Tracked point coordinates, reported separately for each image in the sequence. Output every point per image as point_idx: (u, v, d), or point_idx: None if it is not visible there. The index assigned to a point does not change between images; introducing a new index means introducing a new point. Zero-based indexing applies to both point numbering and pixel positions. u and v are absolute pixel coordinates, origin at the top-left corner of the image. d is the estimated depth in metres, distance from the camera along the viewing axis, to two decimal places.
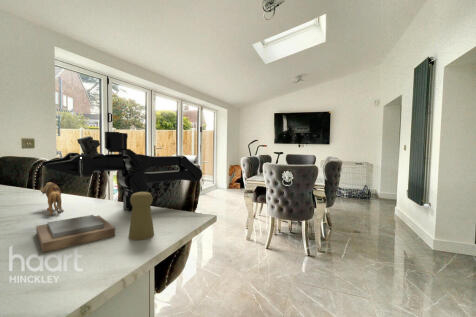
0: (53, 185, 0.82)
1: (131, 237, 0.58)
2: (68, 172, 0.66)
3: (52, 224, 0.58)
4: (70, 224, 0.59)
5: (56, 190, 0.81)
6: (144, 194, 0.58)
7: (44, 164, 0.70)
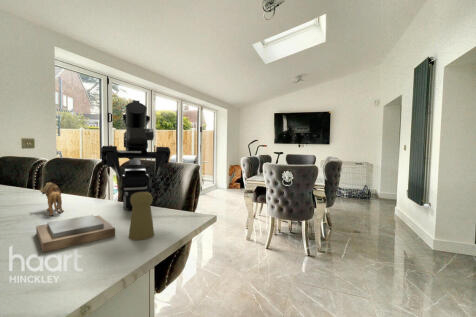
0: (53, 185, 0.82)
1: (131, 237, 0.58)
2: (159, 168, 0.73)
3: (52, 224, 0.58)
4: (70, 224, 0.59)
5: (56, 190, 0.81)
6: (144, 194, 0.58)
7: None
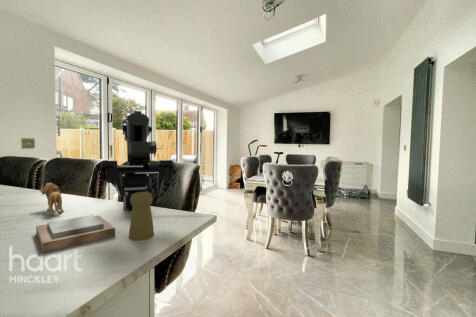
0: (53, 185, 0.81)
1: (131, 237, 0.58)
2: (162, 183, 0.69)
3: (52, 224, 0.58)
4: (70, 224, 0.59)
5: (56, 190, 0.81)
6: (144, 194, 0.58)
7: (121, 194, 0.61)
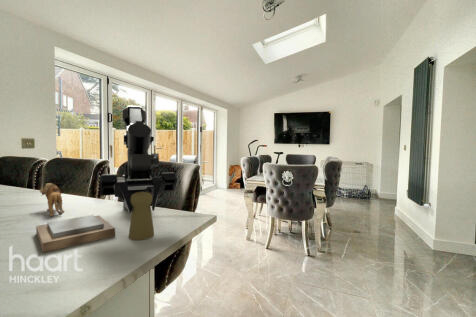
0: (53, 186, 0.81)
1: (131, 237, 0.58)
2: (157, 198, 0.64)
3: (52, 224, 0.58)
4: (70, 224, 0.59)
5: (56, 191, 0.80)
6: (144, 194, 0.58)
7: None
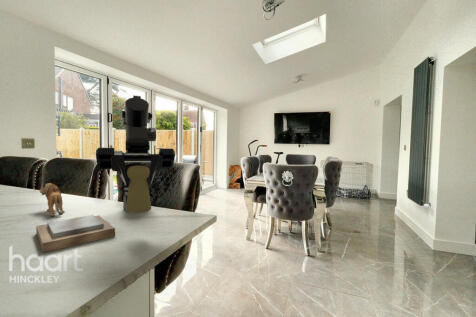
0: (53, 186, 0.81)
1: (128, 210, 0.57)
2: (155, 173, 0.64)
3: (52, 224, 0.58)
4: (70, 224, 0.59)
5: (56, 191, 0.80)
6: (141, 167, 0.58)
7: (127, 183, 0.58)
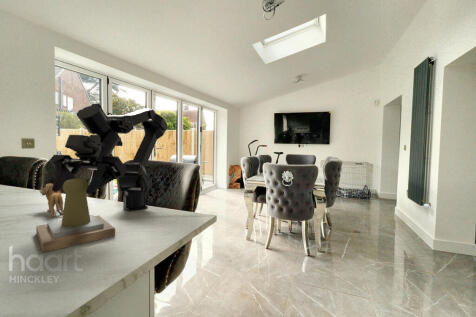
0: None
1: None
2: (106, 182, 0.61)
3: (52, 224, 0.58)
4: None
5: (57, 191, 0.79)
6: (72, 181, 0.57)
7: (56, 189, 0.59)
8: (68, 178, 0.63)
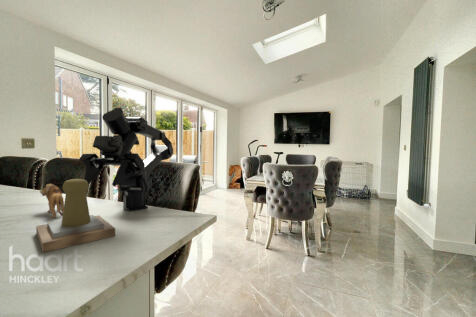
0: (54, 187, 0.80)
1: None
2: (128, 176, 0.70)
3: (52, 224, 0.58)
4: None
5: (57, 192, 0.79)
6: (72, 181, 0.57)
7: None
8: (95, 174, 0.72)
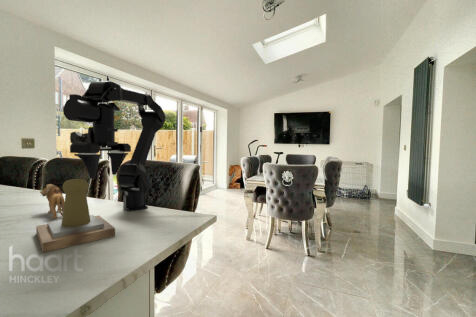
0: (54, 187, 0.79)
1: None
2: (94, 162, 0.65)
3: (52, 224, 0.58)
4: None
5: (58, 192, 0.78)
6: (72, 181, 0.57)
7: (114, 173, 0.76)
8: (118, 159, 0.76)
